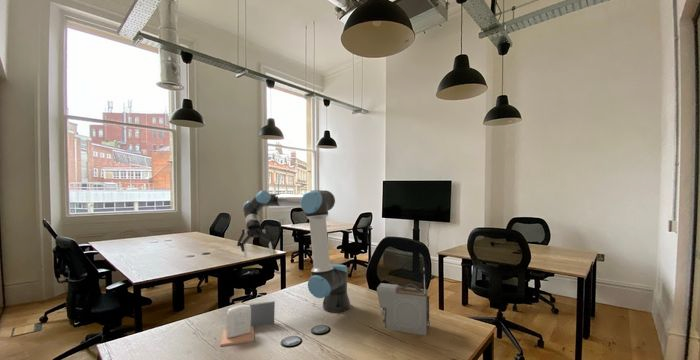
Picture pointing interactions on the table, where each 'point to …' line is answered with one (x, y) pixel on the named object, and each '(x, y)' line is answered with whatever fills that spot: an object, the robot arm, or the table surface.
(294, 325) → the table surface
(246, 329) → the photo printer
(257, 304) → the screen
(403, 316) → the portable television
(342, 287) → the robot arm
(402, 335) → the table surface
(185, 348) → the table surface
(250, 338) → the display pad
